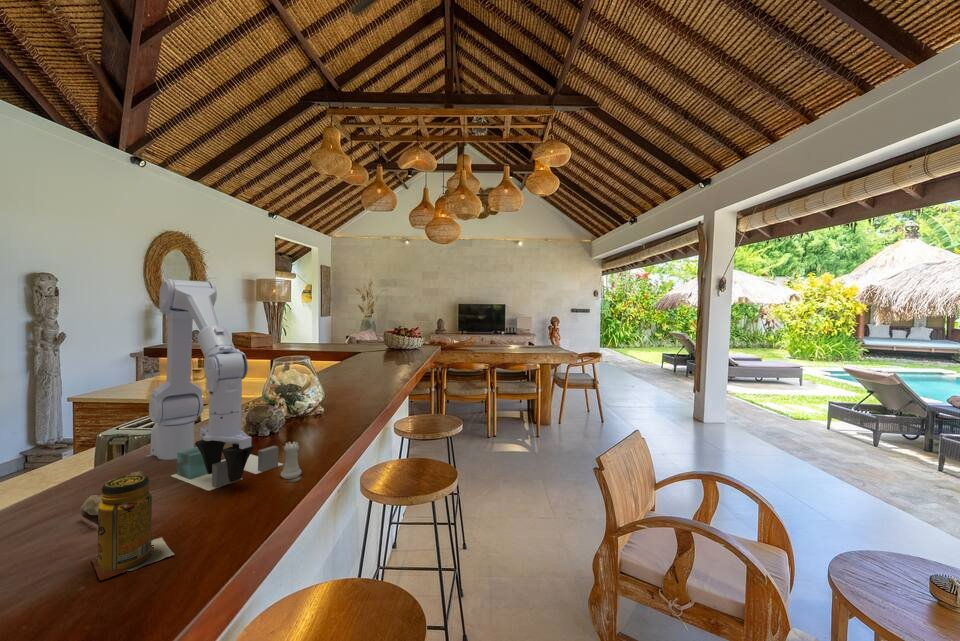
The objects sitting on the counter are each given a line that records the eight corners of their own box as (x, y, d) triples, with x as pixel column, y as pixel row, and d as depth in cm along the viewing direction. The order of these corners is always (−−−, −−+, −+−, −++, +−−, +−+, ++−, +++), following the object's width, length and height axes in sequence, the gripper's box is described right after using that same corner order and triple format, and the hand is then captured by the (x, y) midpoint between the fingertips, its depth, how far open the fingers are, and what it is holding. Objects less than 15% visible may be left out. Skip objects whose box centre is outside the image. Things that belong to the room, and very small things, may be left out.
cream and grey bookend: (217, 464, 98) (218, 442, 98) (246, 456, 105) (246, 435, 104) (255, 477, 92) (256, 453, 92) (283, 467, 98) (284, 445, 98)
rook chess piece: (293, 484, 89) (294, 447, 89) (275, 482, 90) (275, 445, 90) (306, 476, 93) (307, 441, 93) (288, 474, 94) (289, 439, 94)
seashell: (74, 536, 68) (74, 504, 67) (92, 497, 81) (92, 470, 81) (139, 522, 72) (139, 492, 72) (145, 487, 86) (145, 462, 86)
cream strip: (170, 479, 89) (170, 454, 89) (204, 468, 96) (205, 446, 96) (208, 494, 83) (209, 468, 83) (242, 482, 89) (243, 457, 89)
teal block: (176, 474, 90) (177, 451, 90) (201, 467, 95) (201, 445, 94) (189, 479, 88) (190, 456, 88) (214, 471, 92) (214, 449, 92)
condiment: (90, 561, 61) (91, 480, 61) (161, 538, 68) (162, 465, 67) (99, 583, 56) (100, 495, 56) (174, 556, 63) (175, 477, 63)
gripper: (184, 410, 86) (183, 475, 86) (227, 420, 79) (225, 491, 80) (219, 403, 92) (218, 464, 92) (261, 413, 85) (260, 478, 86)
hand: (224, 476), depth 86 cm, fingers open, 7 cm apart
